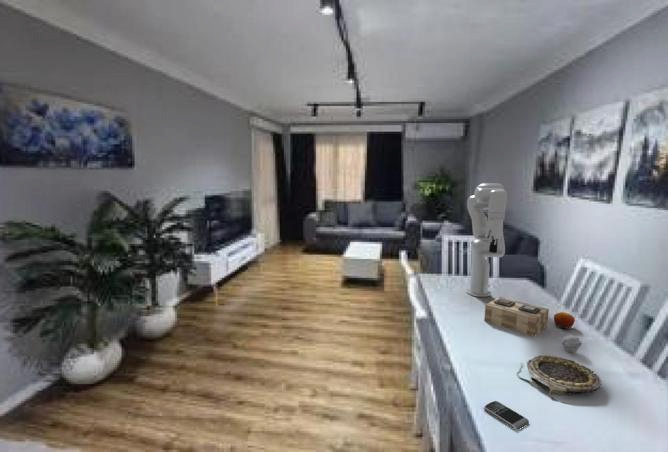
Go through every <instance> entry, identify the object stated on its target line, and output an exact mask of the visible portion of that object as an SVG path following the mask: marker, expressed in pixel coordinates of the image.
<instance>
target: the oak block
mask: <svg viewBox="0 0 668 452" xmlns="http://www.w3.org/2000/svg"><path fill="white" fill-rule="evenodd" d="M502 299H503V300H507V301H511V303H509V304H504V303H500V302H499V301H500V300H502ZM525 306H531V307H534V308H536V310H534V311H530V310H527V309H523V308H524V307H525ZM548 319H549V309H548V308H546V307H542V306H539V305H538V306H537V305H533V304H530V303H526V302H521V301H519V300H515V299H510V298H508V297H507V298H506V297H502V296H499V297H497V298H495V299H493V300H492V301H490V302H488V303H485V308H484V319H483V320H484V322H487V323H490V324H493V325H497V326H500V327H503V328H507V329H509V330H513V331H516V332H519V333H523V334H526V335H529V336H532V337H536V336H538V334H539V333H541V331H543V330H544V329H545V328H546V327H547V326H548Z"/></svg>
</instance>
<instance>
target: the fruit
mask: <svg viewBox="0 0 668 452" xmlns="http://www.w3.org/2000/svg"><path fill="white" fill-rule="evenodd" d="M575 321H576V319H575V316H573V315H572V314H570V313H567V312H564V311H560V312H556V313H555V314H554V316H553V322H554V324H555V326H556V327H558V328H564V329H566V330H568V331H569V329H571V328H572V327H573V326H574V325H575Z"/></svg>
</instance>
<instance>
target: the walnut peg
mask: <svg viewBox="0 0 668 452" xmlns="http://www.w3.org/2000/svg"><path fill="white" fill-rule="evenodd" d="M499 302H500V303H504V304H509V303H511V301H507V300H503V299H502V300H500V301H499Z"/></svg>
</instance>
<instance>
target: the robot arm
mask: <svg viewBox="0 0 668 452" xmlns="http://www.w3.org/2000/svg"><path fill="white" fill-rule="evenodd" d="M507 197H508V193H507V191H506V190H505V187H504V186H503V184H501V183H495V182H493V183H492V182H491V183H489V182H483V183H480V184H479V185H477V186H476V188H475V189H474V193H473V195H471V196H469V197H468V198H467V202H466V205H467V211H468V214H469V216H470V219H471V227H472V235H473V238H474V239H475V240H473V241H472V243H471V246H470V248H471V249H470V250H471V271H470V281H469V282H470V287H469V288H467V290H466V293H467V294H468V295H470V296H473V297H479V298H487V297H490V296H491V292H490V291H489V288H490V287H491V286H490V284H489V281H490V280H489V279H490V268H491V267H490V265H491V264H490V262H489V261H488V259H487V258H488V257H489V258H502V257H504V256H505V253H506V243H505V238H504V220H505V217H506V208H507ZM482 210H488V211H487V216H486V214H485V213H484V212H483V211H482Z"/></svg>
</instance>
